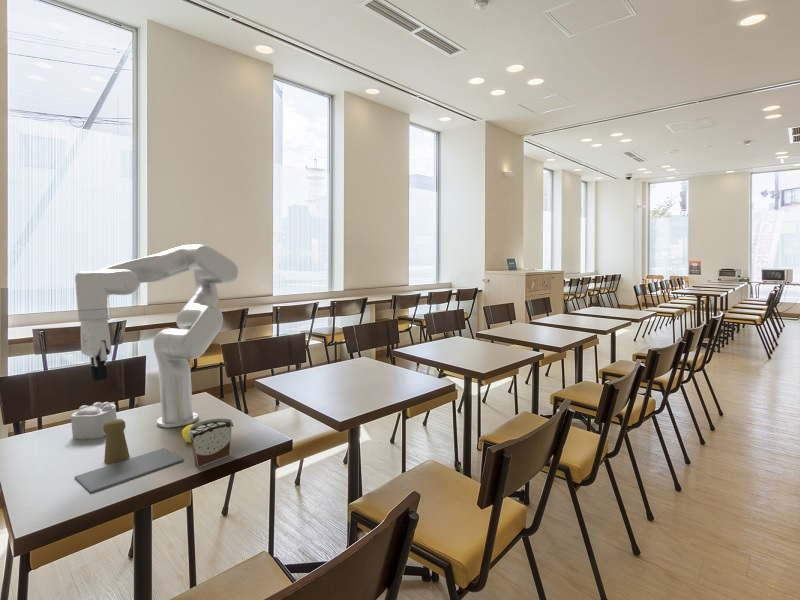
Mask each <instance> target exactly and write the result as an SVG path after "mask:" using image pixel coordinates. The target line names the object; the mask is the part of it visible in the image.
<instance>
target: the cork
mask: <svg viewBox="0 0 800 600" xmlns="http://www.w3.org/2000/svg"><path fill="white" fill-rule="evenodd" d="M103 429H104V432H105V433H106V436H105V445H104V463H105V464H107V465H112V464H113V463H114V464H115V463H118V462H121V461H124V460H127V459H130V457H131V456H130V453H129V448H128V444H127V439H126V436H125V435H126V434H125V432H124V431H125V429H126V421H125V420H124V419H121V418H117V419H113V420H109V421H107V422H106V423H105V424H104V427H103Z"/></svg>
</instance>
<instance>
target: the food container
mask: <svg viewBox="0 0 800 600" xmlns="http://www.w3.org/2000/svg"><path fill="white" fill-rule="evenodd" d="M193 424H194V423H193ZM232 427H234V422H233V421H232V419H229V418H213V419H211V418H210V419H206V420H202V421H200V422H196V423H195V424H194V425H193V426H192V427H191V428H190V430H189V433H188V439H189V440H190V441H191V442H190V443H191V448H192V455H193V459H194V465H195V467H196V469H199V468H202V467H203V466H207V465H209V464H213V463H214V462H218V461H219V460H222V459H225V458H228V457H230V456H231V450H232V449H231V448H232V447H231V446H232V445H231V444H232V443H231V442H232Z"/></svg>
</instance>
